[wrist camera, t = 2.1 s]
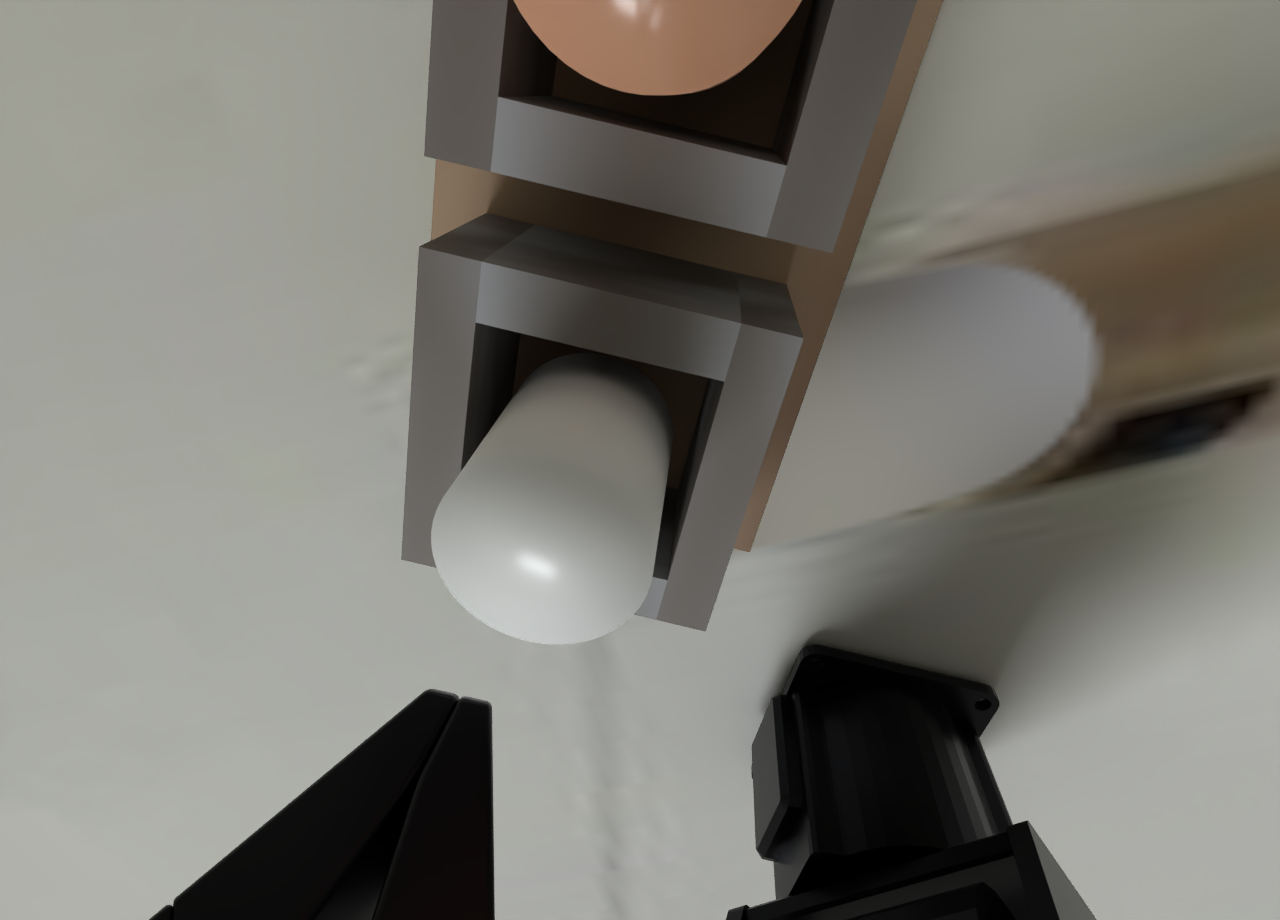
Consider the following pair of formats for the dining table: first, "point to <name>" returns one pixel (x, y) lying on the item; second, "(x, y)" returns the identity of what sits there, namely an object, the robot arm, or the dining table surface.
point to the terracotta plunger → (657, 39)
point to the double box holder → (648, 251)
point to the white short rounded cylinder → (560, 504)
